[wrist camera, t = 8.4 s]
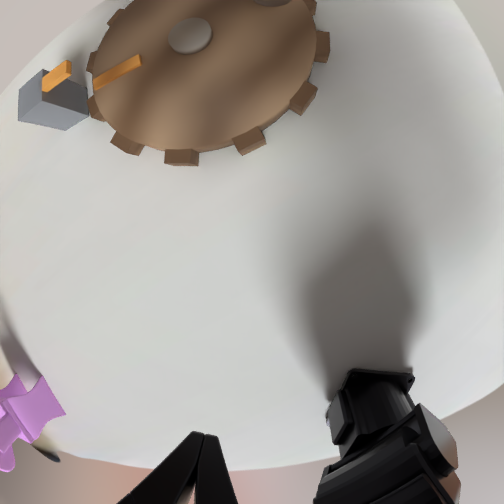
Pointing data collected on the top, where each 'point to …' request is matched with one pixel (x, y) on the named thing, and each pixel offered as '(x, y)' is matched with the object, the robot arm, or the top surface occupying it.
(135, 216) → the top surface
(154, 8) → the sprocket
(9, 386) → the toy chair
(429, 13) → the top surface
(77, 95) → the grey toy mallet
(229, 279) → the top surface
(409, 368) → the top surface
